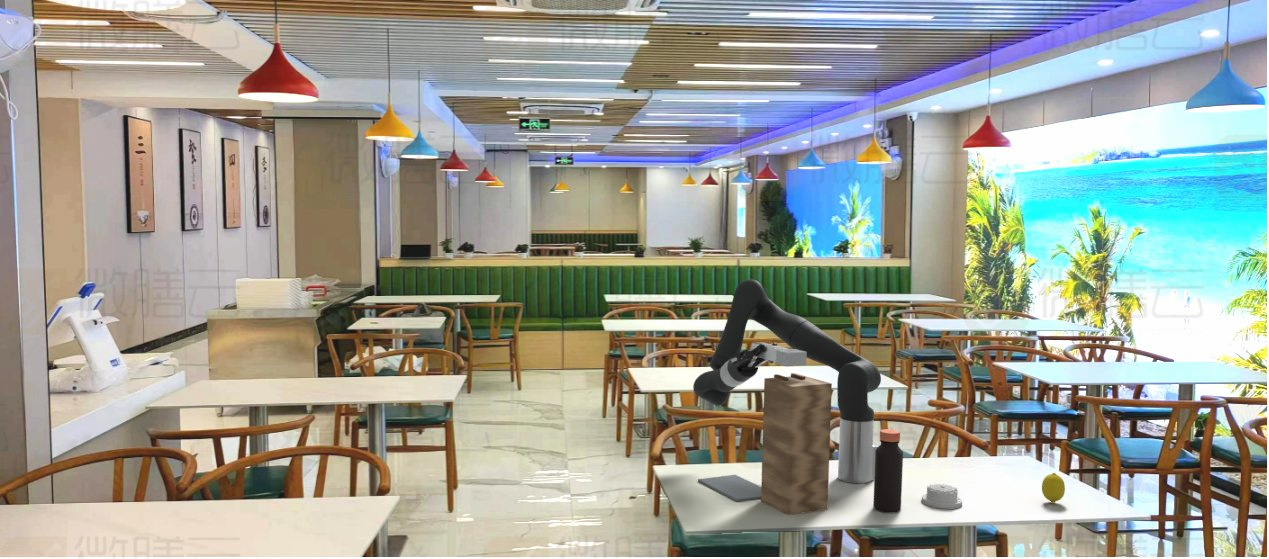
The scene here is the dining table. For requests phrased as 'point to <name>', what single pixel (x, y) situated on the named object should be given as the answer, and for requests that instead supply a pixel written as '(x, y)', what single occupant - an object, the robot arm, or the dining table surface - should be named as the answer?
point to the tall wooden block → (796, 443)
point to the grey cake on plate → (942, 496)
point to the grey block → (782, 355)
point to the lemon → (1053, 487)
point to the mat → (733, 487)
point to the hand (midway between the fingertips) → (770, 346)
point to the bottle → (888, 473)
